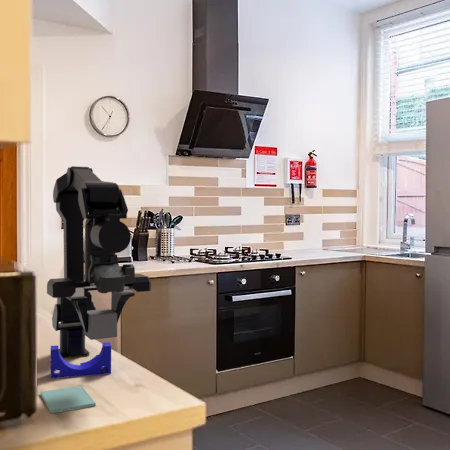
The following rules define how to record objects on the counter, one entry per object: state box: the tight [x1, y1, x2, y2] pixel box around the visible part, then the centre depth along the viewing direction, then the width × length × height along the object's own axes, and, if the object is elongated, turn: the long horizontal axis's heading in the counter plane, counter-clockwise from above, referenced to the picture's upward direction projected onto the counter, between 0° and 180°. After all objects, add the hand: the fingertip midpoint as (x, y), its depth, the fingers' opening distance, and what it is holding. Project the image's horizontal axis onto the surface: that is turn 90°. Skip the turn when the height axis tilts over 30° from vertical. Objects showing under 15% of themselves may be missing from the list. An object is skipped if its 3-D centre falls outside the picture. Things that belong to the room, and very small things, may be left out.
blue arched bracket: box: [50, 341, 112, 379], centre depth 115 cm, size 12×4×6 cm, turn 107°
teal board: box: [40, 385, 97, 414], centre depth 99 cm, size 10×8×1 cm
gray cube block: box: [84, 308, 118, 341], centre depth 105 cm, size 5×5×4 cm
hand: (100, 330), depth 105 cm, fingers closed on gray cube block, 5 cm apart
